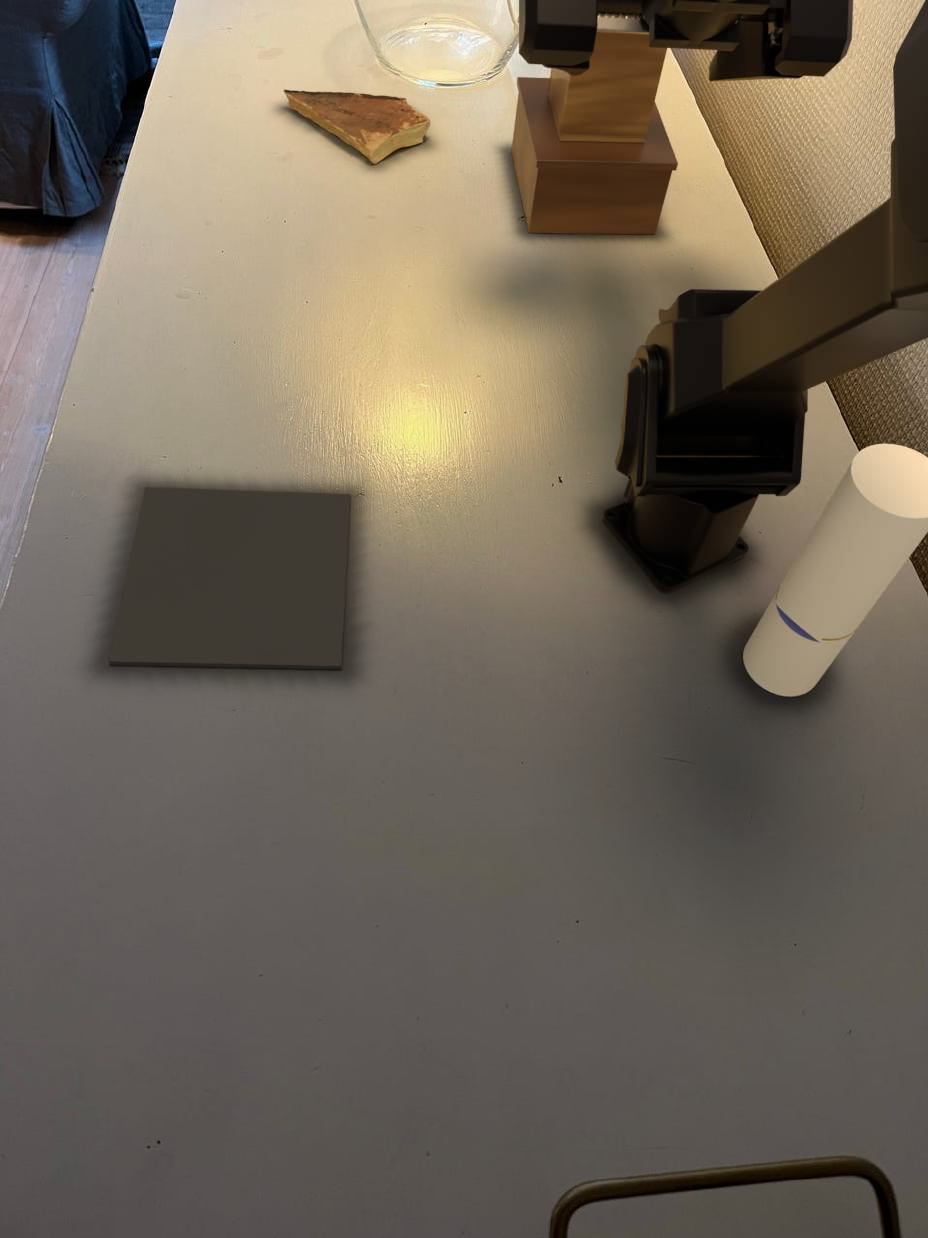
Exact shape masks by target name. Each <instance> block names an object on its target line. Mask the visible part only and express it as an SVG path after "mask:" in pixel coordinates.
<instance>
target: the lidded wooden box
mask: <svg viewBox="0 0 928 1238" xmlns="http://www.w3.org/2000/svg"><path fill="white" fill-rule="evenodd" d="M549 80H550V77H534V76H533V77H531V76H529V77H528V76H518V77H517V78H516V87H517V91H518V95H517V102H516V109H515V118H514V126H513V135H512V142H511V143H512V144H511V150H510V151H511V156H512V161H513V165H514V171H515V175H516V180H517V185H518V189H519V193H520V198H521V203H522V208H523V212H524V217H525V222H526V228H527V232H528V233H529V234H593V235H594V234H597V235H599V234H600V235H602V234H603V235H605V234H606V235H609V234H610V235H656V233H657V229H658V226H659V223H660V218H661V214H662V211H663V207H664V204H665V199H666V195H667V193H668V189H669V185H670V181H671V177H672V174H673V172H674V171H675V172H676V171H677V169H678V165H679V162H678V160H677V157H676V154H675V151H674V149H673V146H672V144H671V141H670V138H669V135H668V132H667V130H666V128H665V124H664V122H663V119H662V117H661V114H660V111H659V109H658V106H657V103H656V101H655V102H654V106H653V110H652V114H651V119H650V123H649V127H648V131H647V135H646V139H645V143H629V142H585V141H560V140H559V136H558V132H557V128H556V125H555V121H554V117H553V113H552V109H551V106H550V102H549V98H548V87H549Z"/></svg>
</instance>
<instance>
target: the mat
mask: <svg viewBox="0 0 928 1238" xmlns="http://www.w3.org/2000/svg"><path fill="white" fill-rule="evenodd" d="M141 500H142V501H141V505H140V510H139V514H138V520H137V524H136V529H135V534H134V539H133V544H132V548H131V552H130V558H129V562H128V568H127V572H126V577H125V582H124V587H123V590H122V596H121V601H120V606H119V611H118V615H117V620H116V623H115V624H116V625H115V629H114V633H113V639H112V644H111V650H110V653H109V658H108V663H109V665H110V666H140V667H141V666H142V667H143V666H144V667H188V668H189V667H197V668H198V667H199V668H238V669H239V668H243V669H244V668H246V669H291V670H292V669H293V670H294V669H295V670H297V669H299V670H342V669H343V658H344V657H343V654H344V638H345V637H344V635H345V621H346V620H345V617H346V600H347V581H348V580H347V579H348V563H349V562H348V561H349V542H350V526H351V525H350V522H351V506H352V505H351V504H352V494H351V493H332V492H331V493H329V492H304V491H303V492H301V491H297V492H296V491H270V490H268V491H267V490H242V489H241V490H240V489H211V488H184V487H183V488H182V487H181V488H180V487H179V488H178V487H151V486H145V487H144V491H143V495H142V499H141Z"/></svg>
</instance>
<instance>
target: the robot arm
mask: <svg viewBox="0 0 928 1238" xmlns="http://www.w3.org/2000/svg"><path fill="white" fill-rule="evenodd" d="M602 14H603V15H604V16H602ZM609 15H611V17H609ZM616 15H618V17H616ZM623 15H624V16H625V17H623ZM630 16H632V17H631V18H630ZM637 16H638V18H637ZM643 16H644V17H643ZM853 20H854V0H518V54H519V56H521V57H522V59H523V60H524V61H525V62H526V64H528V65H540V66H543V67H544V68H546V69H551V68H555V69H559V70H562V71H565V72H567V73H568V74H569V75H571V76H577V75H581V74H582V73H584V72H585V71H587V70H588V69H589V67H590V58H591V56H592V54H593V51H594V45H595V39H596V33H618V34H639V35H649V47H656V48H667V49H678V50H679V49H682V50H701V51H716V52H715V54H714V55H713V57H712V59H711V61H710V63H709V67H708V80H709V82H711V83H712V82H713V83H714V82H715V83H716V82H734V81H735V82H736V81H754V80H756V81H758V80H780V79H781V80H783V79H791V80H792V79H793V80H797V79H801V78H803V77H821V78H822V77H823V78H824V77H825V76H826V75H827V74H828V73H830V72H831V71H832V70H833V69H834V68H835V67H837V65H838V64H839V63H840V62H841V61H842V60H843V59H844V58H845V57H846V56H847V55H848V52H849V48H850V46H851V43H852V41H853V23H854V22H853ZM906 33H907V34H906V35H905V37H904V39H903V41H902V43H901V45H900V46H899V48H898V50H897V51H896V54H895V58H894V63H893V67H892V79H893V80H892V81H893V82H892V83H893V117H894V118H893V121H894V138H893V139H892V141H891V144H890V197H888V199H886V201H884V202H883V203H881V204H880V205H878V206H877V207H875V208H874V209H872V210H871V211H870V212H869V213H867V214H865V216H863V217H861V218H860V219H859V220H858V221H856V222H855V223H853V224H852V225H850V227H848V228H846V229H845V230H844V231H843V232H841V233H839V234H838V235H836V236H835V237H834V238H833V239H831V240H830V241H829V242H827V243H826V244H825V245H822V247H820V248H819V249H817V250H816V251H815V252H813V253H812V254H811V255H809V256H808V257H807V258H805V259H804V260H802V261H801V262H800V263H798V264H797V265H795V266H794V267H793V268H791V269H790V270H788V271H787V272H786V273H785V274H783V275H782V276H781V277H779V278H777V279H775V281H773V282H772V283H771V284H769V285H767V287H765V288H763V289H762V290H760V289H759V290H757V289H715V288H713V289H711V288H710V289H708V288H703V289H702V288H690V289H688V290H686V291H684V292H682V293H681V294H679V295H677V297H676V298H675V300H674V301H673V303H672V304H671V305H670V307H669V308H668V309H664V308H663V309H661V308H660V309H658V319H659V323H657V324H656V325H655V326H654V327H653V328H652V329H651V331H650V332H649V333H648V335H647V337H646V340H645V343H644V344H641V345H639V346H638V348H636V351H635V354H634V357H632V358H631V360H630V365H629V372H627V374H626V375H625V378H624V379H625V381H624V392H623V393H624V395H623V405H622V406H623V407H622V418H621V427H620V428H621V429H620V430H621V434H620V441H619V447H618V449H617V454H616V457H615V461H614V464H615V468H616V471H617V472H619V473H620V474H621V475H623V476H624V477H627V479H628V480H627V483H626V486H625V489H624V494H623V498H624V499H625V500H626V501H623V502H622V503H619V504H616V505H614V506H612V507H609V508H607V509H606V510H605V511H604V512H603V515H602V521H603V523H604V524H605V526H606V527H607V528H608V529H609V531H610V532H612V534H613V535H614V536H615V538H616V539H617V540H618V541H619V542H620V544H621V545H622V546H623V547H624V548H625V550H626V551H627V552H628V554H629V555H630V556H631V557H632V558H633V560H634V561H635V562H636V563H637V564H638V566H639V567H640V568H641V569H642V570H643V571H644V573H645V575H647V576H648V578H649V579H650V580H651V582H652V583H653V584H654V586H656V587H657V589H658V590H660V591H662V592H663V593H670V592H672V591H674V590H676V589H678V588H682V587H683V586H685V585H687V584H689V583H691V582H693V581H696V580H699V578H702V577H705V576H707V575H708V574H711V573H712V572H715V571H717V570H720V569H721V568H723V567H725V566H728V565H730V564H733V563H734V562H736V561H738V560H740V559H742V558H745V556H747V553H748V551H749V545H748V544H747V542H745V540H744V539H743V538H742V537H741V536H740V535H741V533H742V531H743V530H744V527H745V525H746V523H747V520H748V519H749V517H750V514H751V513H752V511H753V508H754V506H755V504H756V502H757V500H758V498H759V496H760V495H775V497H787V496H788V495H789V494H790V493H791V492H793V490H795V489H796V488H797V487H798V486H799V485H800V483H801V481H802V473H803V472H802V471H803V456H804V455H803V454H804V440H805V439H804V438H805V423H806V413H808V411H809V410H808V409H809V405H808V404H809V401H808V400H809V390H810V389H812V388H814V387H816V386H819V385H821V384H824V383H826V382H828V381H830V380H833V379H835V378H837V377H840V376H842V375H845V374H847V373H849V372H851V371H854V370H856V369H859V368H861V367H863V366H865V365H867V364H870V363H872V362H874V361H877V360H879V359H882V358H884V357H886V356H889V355H891V354H893V353H895V352H898V351H901V350H903V349H905V348H908V347H909V346H912V345H915V344H917V343H919V342H921V341H924V340H926V339H928V0H924V2H923V4H922V6H921V8H920V9H919V11H918V13H917V15H916V16H915V18H914V20H913V22H912V25H911V26H910V27H909V30H908V32H906ZM664 582H665V583H664ZM666 583H667V584H666Z"/></svg>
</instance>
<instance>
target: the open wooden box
mask: <svg viewBox="0 0 928 1238" xmlns="http://www.w3.org/2000/svg"><path fill="white" fill-rule="evenodd" d="M602 16H604V15H603V14H602ZM609 17H611V15H609ZM616 17H618V15H616ZM623 17H625V16H624V15H623ZM631 17H632V16H630V18H631ZM643 17H644V16H643ZM637 18H638V16H637ZM667 51H668V48H656V47H649V35H639V34H618V33H596V39H595V45H594V51H593V54H592V56H591V58H590V67H589V69H588V70H587V71H585V72H584V73H582V74H581V75H577V76H571V75H569V74H568V73H567V72H565V71H562V70H559V69H555V68H550V74H549V78H550V80H549V87H548V98H549V102H550V106H551V109H552V113H553V117H554V121H555V125H556V128H557V132H558V136H559V140H560V141H585V142H629V143H645V139H646V135H647V131H648V127H649V123H650V119H651V114H652V110H653V106H654V102H655V103H656V98H657V94H658V89H659V85H660V80H661V76H662V74H663V73H662V72H663V67H664V64H665V59H666V56H667Z"/></svg>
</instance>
